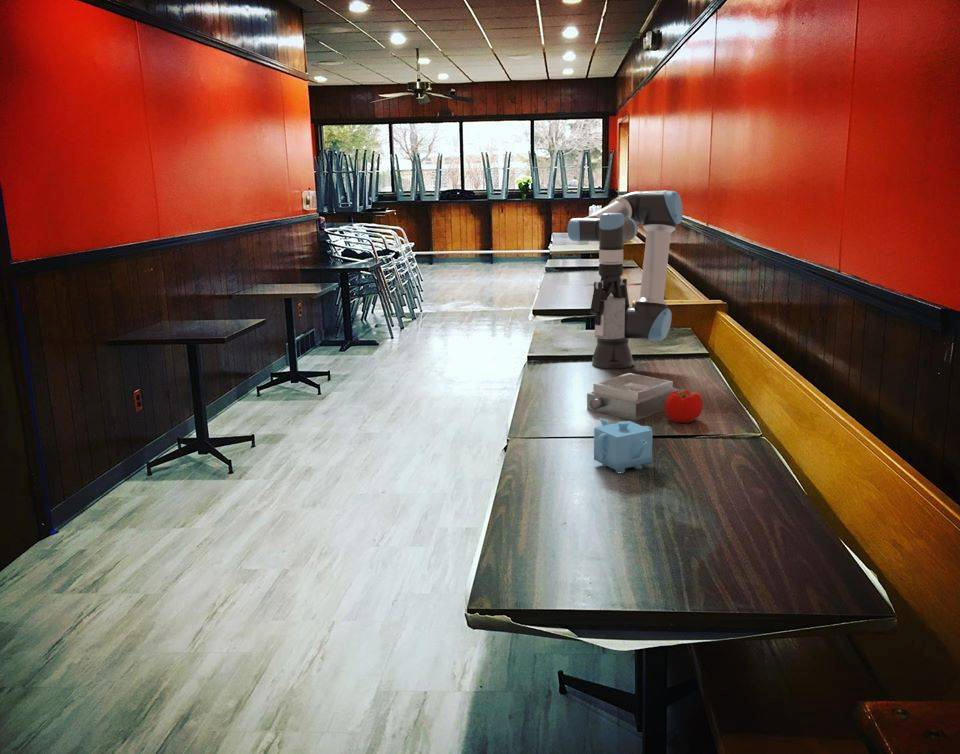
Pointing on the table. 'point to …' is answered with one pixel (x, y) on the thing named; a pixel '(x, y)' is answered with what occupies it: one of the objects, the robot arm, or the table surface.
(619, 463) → the teapot
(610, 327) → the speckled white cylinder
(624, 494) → the table surface
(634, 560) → the table surface
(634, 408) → the gearbox
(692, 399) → the tomato
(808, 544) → the table surface
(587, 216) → the robot arm
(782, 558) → the table surface
